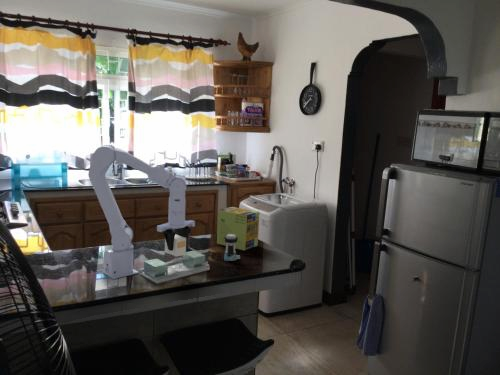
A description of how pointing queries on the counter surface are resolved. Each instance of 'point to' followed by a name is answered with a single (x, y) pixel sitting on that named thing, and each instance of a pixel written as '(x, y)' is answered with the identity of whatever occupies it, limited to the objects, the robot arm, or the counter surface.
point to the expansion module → (177, 246)
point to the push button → (230, 247)
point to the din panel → (174, 267)
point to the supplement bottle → (186, 239)
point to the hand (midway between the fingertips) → (175, 248)
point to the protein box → (238, 227)
